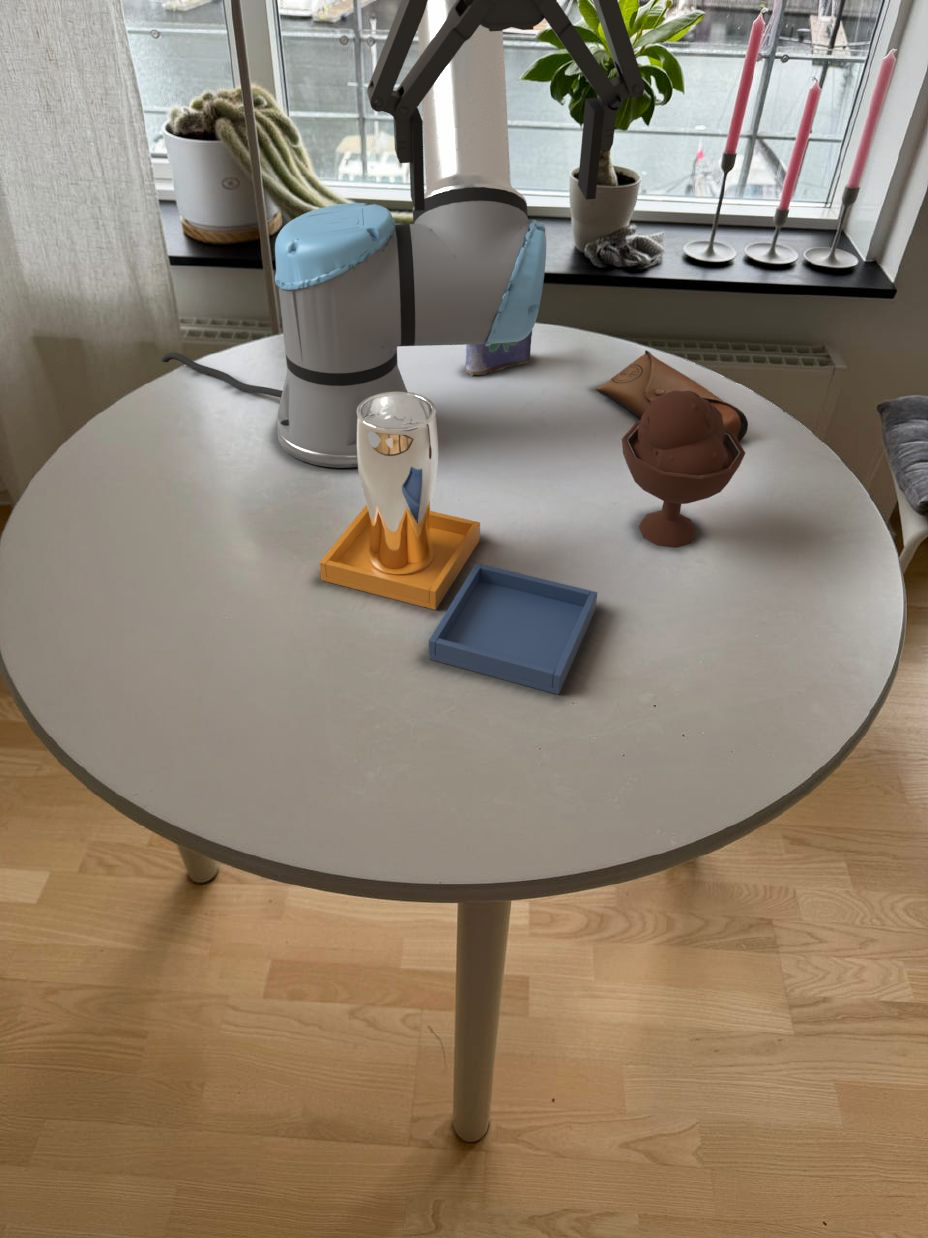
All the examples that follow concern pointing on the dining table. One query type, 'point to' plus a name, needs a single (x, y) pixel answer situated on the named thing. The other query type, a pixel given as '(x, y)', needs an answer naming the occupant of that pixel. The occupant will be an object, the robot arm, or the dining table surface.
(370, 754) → the dining table surface
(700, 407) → the ice cream bowl
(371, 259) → the robot arm
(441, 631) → the blue tray
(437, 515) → the amber tray
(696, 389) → the sunglasses case
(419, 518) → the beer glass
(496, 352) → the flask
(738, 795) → the dining table surface
